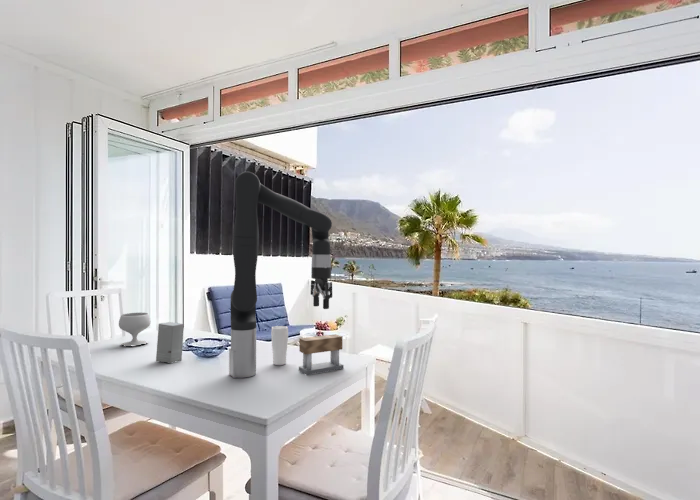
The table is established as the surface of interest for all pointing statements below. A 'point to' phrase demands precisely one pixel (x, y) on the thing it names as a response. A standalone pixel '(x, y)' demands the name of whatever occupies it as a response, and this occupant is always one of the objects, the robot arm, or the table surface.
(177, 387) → the table surface
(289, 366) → the table surface
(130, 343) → the chalice
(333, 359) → the peg stand
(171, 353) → the skincare box
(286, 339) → the drinking glass
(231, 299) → the robot arm
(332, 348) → the brown rectangular block
